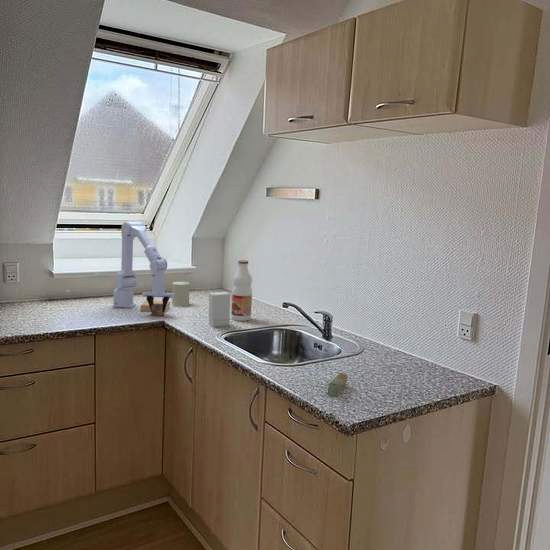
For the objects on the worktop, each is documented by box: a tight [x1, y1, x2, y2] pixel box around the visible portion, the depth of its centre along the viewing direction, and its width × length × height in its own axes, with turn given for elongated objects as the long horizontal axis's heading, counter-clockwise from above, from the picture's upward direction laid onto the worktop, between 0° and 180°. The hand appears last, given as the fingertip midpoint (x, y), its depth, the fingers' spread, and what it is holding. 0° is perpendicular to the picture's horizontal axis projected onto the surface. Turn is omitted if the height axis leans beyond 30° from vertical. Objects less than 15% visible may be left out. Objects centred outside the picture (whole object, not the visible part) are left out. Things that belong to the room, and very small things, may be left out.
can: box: [171, 281, 191, 307], centre depth 275 cm, size 9×9×12 cm
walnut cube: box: [150, 303, 165, 317], centre depth 249 cm, size 5×5×5 cm
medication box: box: [327, 372, 348, 398], centre depth 161 cm, size 12×3×4 cm, turn 157°
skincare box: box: [208, 291, 231, 328], centre depth 234 cm, size 8×6×15 cm
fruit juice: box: [230, 259, 253, 322], centre depth 247 cm, size 9×9×28 cm
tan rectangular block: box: [139, 300, 171, 312], centre depth 261 cm, size 12×12×3 cm
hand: (157, 311), depth 250 cm, fingers closed on walnut cube, 5 cm apart
